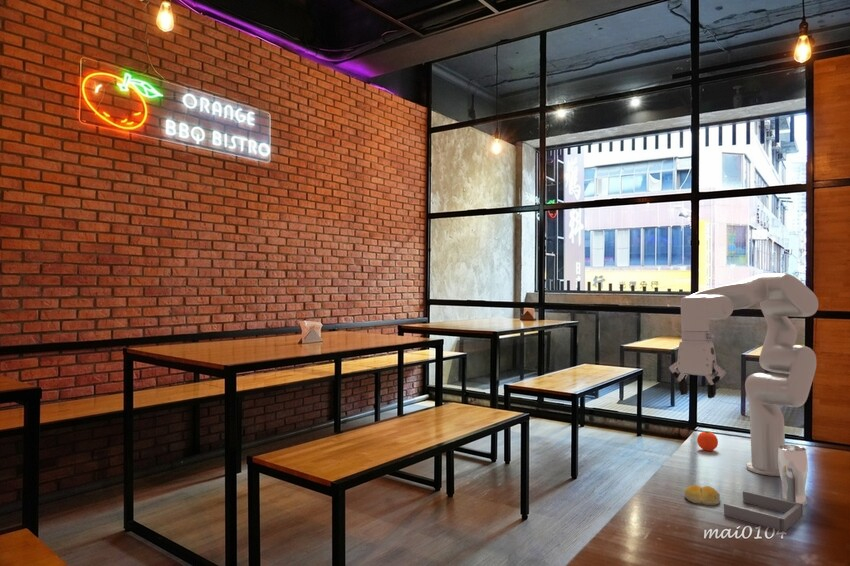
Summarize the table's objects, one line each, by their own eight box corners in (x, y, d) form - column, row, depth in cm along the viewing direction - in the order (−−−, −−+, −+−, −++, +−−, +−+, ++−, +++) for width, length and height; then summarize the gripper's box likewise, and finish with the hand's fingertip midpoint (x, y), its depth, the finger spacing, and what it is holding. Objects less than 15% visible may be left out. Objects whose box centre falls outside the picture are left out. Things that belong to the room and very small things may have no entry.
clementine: (699, 446, 209) (698, 427, 209) (720, 448, 205) (719, 429, 205) (695, 451, 203) (695, 432, 203) (716, 454, 199) (716, 434, 199)
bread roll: (686, 493, 163) (686, 479, 163) (720, 498, 158) (720, 484, 158) (682, 502, 156) (681, 488, 156) (718, 508, 151) (717, 493, 151)
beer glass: (814, 507, 150) (812, 451, 150) (785, 505, 151) (783, 451, 151) (802, 497, 156) (800, 444, 157) (775, 496, 158) (773, 444, 158)
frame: (744, 501, 155) (744, 490, 155) (802, 515, 144) (802, 504, 144) (724, 515, 146) (723, 503, 146) (784, 531, 135) (784, 519, 135)
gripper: (731, 337, 162) (733, 397, 161) (672, 334, 175) (674, 390, 175) (720, 339, 157) (722, 401, 157) (661, 336, 170) (663, 394, 170)
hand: (697, 395), depth 166 cm, fingers open, 7 cm apart
